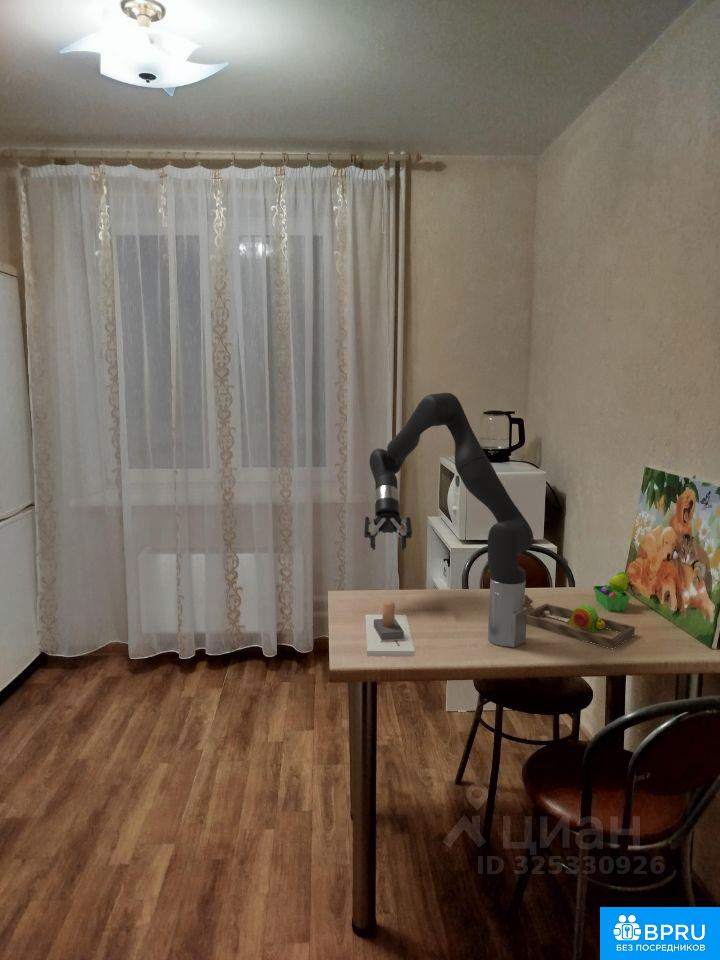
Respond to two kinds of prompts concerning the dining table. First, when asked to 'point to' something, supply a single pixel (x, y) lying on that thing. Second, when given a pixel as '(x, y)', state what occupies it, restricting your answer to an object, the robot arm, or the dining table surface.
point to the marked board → (388, 647)
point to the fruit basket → (613, 593)
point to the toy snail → (583, 618)
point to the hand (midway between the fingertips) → (388, 548)
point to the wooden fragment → (526, 604)
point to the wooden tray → (577, 633)
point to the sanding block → (388, 624)
